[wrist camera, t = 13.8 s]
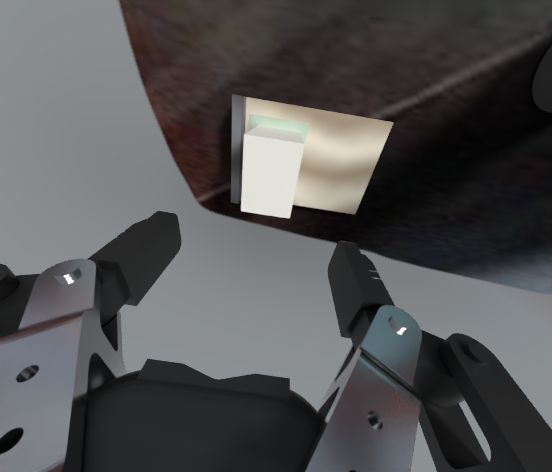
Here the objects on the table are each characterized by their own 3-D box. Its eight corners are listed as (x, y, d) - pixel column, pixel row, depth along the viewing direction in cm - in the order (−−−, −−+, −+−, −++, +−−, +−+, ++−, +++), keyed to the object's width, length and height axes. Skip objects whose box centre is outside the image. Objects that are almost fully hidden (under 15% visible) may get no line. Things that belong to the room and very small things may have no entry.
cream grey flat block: (239, 96, 23) (231, 94, 20) (388, 121, 24) (404, 124, 20) (236, 191, 30) (230, 202, 26) (352, 210, 30) (360, 222, 27)
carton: (300, 131, 23) (304, 143, 16) (289, 187, 27) (289, 218, 20) (257, 125, 23) (241, 133, 16) (253, 182, 27) (238, 210, 20)
